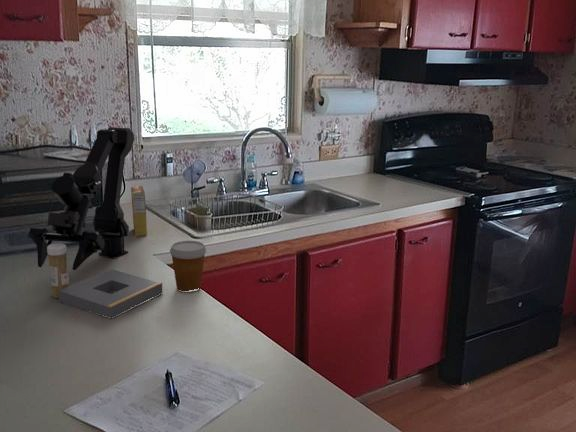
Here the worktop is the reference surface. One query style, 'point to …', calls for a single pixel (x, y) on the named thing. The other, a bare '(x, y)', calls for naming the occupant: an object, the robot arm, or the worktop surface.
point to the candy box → (139, 210)
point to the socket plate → (98, 299)
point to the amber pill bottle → (58, 267)
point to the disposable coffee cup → (188, 264)
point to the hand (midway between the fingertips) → (56, 268)
